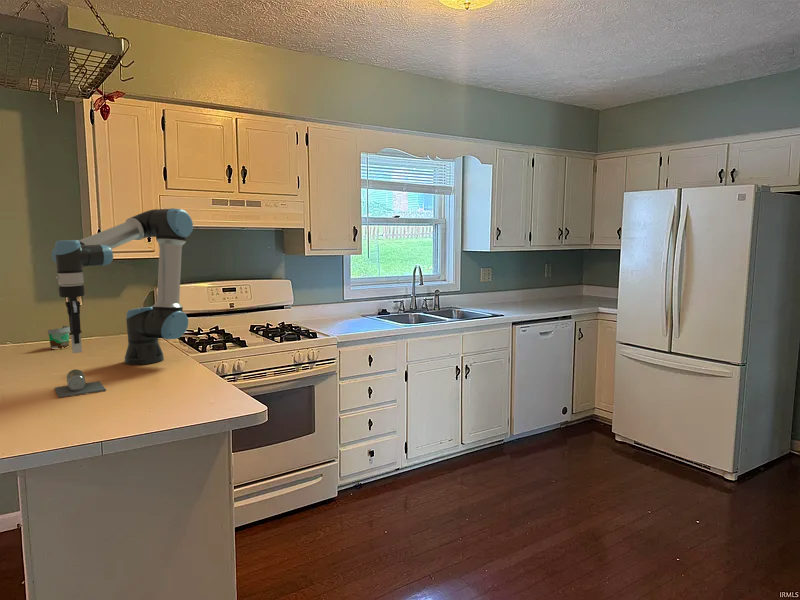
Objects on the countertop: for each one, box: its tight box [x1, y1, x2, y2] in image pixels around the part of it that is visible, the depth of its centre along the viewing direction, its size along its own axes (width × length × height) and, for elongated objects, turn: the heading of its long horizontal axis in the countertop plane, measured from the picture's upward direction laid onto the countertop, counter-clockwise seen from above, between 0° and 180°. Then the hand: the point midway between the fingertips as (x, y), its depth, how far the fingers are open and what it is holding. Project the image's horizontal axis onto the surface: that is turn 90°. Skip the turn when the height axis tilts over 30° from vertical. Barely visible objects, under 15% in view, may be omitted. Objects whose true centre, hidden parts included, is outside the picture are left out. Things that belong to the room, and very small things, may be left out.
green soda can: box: [66, 369, 87, 391], centre depth 194 cm, size 5×5×12 cm
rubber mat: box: [54, 380, 107, 398], centre depth 193 cm, size 14×14×1 cm
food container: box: [47, 325, 71, 349], centre depth 269 cm, size 12×6×10 cm, turn 179°
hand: (77, 352), depth 195 cm, fingers closed
